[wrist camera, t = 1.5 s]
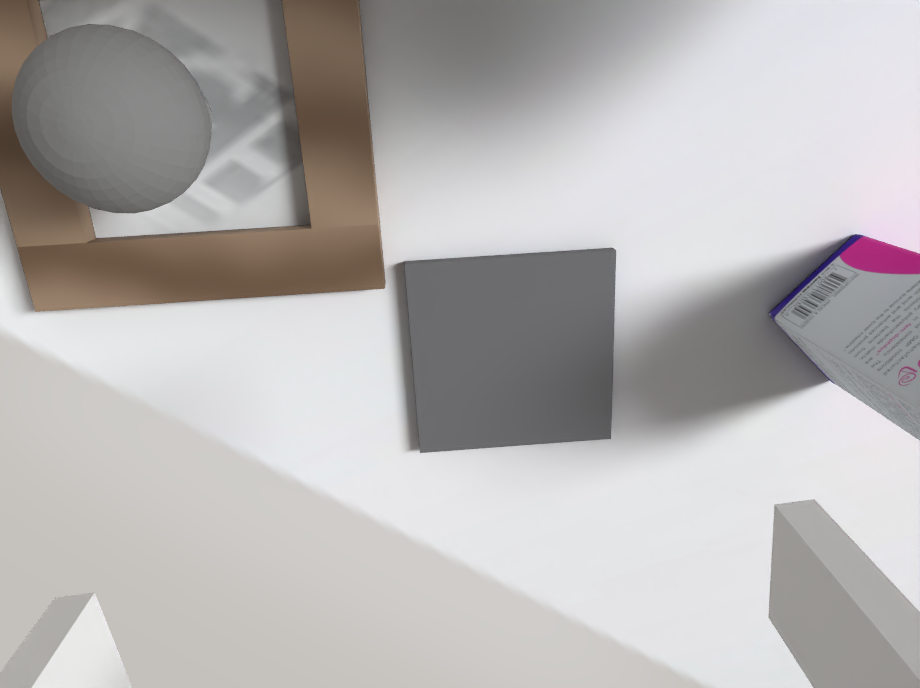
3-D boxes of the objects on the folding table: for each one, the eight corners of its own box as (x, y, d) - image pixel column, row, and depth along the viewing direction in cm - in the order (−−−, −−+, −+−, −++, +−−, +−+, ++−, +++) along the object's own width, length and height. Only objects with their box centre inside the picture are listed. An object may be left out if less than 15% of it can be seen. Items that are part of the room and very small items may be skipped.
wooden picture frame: (-62, -87, 26) (-80, -94, 25) (348, -106, 27) (346, -114, 26) (46, 305, 32) (35, 311, 31) (385, 283, 32) (384, 288, 31)
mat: (404, 261, 32) (404, 264, 31) (612, 247, 32) (615, 250, 32) (420, 447, 36) (420, 452, 35) (607, 433, 36) (610, 438, 35)
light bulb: (167, 210, 31) (55, 259, 21) (84, 84, 29) (-80, 77, 19) (281, 148, 30) (217, 171, 21) (204, 15, 28) (95, -27, 19)
